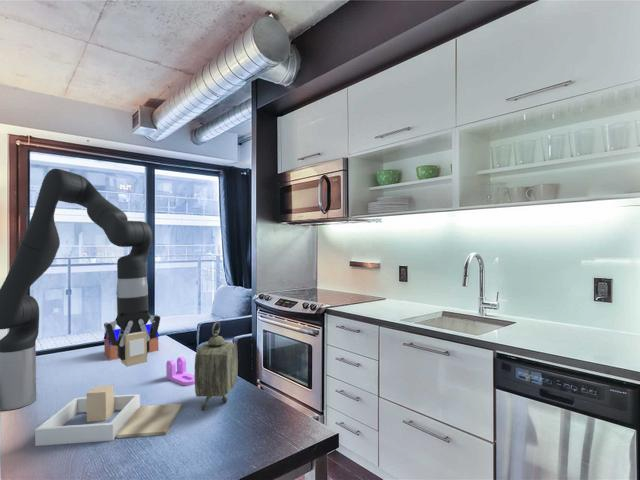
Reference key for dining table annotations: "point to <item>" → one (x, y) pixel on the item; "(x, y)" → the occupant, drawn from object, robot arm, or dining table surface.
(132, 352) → the labelled box
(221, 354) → the tabletop clock
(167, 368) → the bracket
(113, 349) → the house
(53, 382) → the dining table surface
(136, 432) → the board
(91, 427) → the bin
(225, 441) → the dining table surface
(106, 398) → the plain box
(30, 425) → the dining table surface
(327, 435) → the dining table surface
